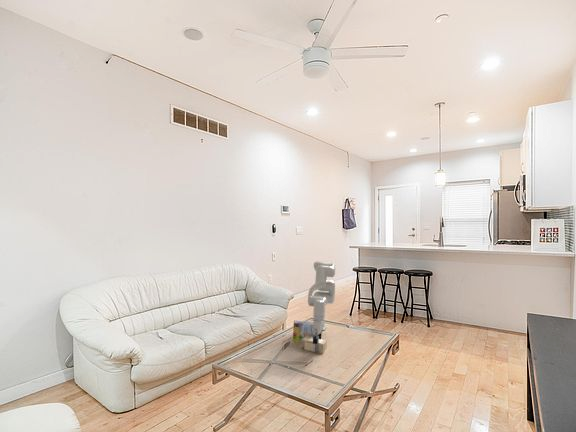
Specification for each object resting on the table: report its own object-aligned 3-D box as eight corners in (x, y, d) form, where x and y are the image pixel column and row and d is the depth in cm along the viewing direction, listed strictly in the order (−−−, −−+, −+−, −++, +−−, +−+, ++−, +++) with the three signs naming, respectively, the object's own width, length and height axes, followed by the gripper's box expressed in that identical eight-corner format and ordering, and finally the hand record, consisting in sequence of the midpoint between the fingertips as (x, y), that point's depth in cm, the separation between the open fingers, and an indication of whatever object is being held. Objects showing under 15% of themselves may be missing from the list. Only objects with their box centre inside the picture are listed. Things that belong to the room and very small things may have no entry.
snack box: (320, 341, 244) (321, 322, 243) (320, 344, 238) (321, 325, 238) (293, 338, 246) (294, 319, 245) (292, 342, 241) (293, 322, 240)
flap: (301, 349, 228) (302, 333, 228) (302, 348, 231) (303, 332, 230) (317, 353, 223) (318, 337, 223) (318, 352, 226) (319, 336, 225)
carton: (305, 343, 238) (306, 335, 238) (326, 348, 232) (326, 340, 232) (302, 348, 231) (302, 339, 231) (323, 353, 225) (323, 344, 224)
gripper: (317, 312, 233) (315, 335, 234) (309, 320, 217) (307, 344, 218) (326, 314, 230) (325, 337, 231) (319, 322, 214) (318, 347, 215)
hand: (316, 341), depth 224 cm, fingers open, 8 cm apart
